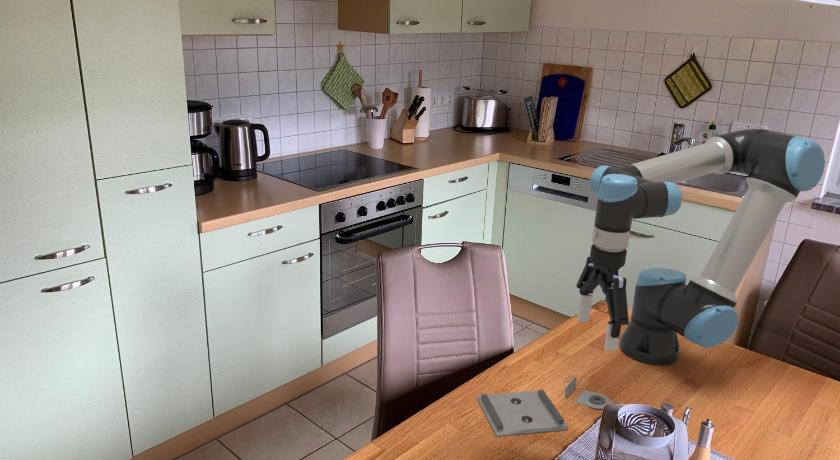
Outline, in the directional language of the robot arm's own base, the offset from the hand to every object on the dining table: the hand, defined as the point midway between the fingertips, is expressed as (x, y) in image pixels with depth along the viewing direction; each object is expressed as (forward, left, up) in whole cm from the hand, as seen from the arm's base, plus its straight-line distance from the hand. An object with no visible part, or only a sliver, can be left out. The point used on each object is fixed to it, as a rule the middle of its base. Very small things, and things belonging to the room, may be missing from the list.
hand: (596, 334), depth 147 cm
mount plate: (+18, +4, -16) cm, 25 cm away
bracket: (0, 0, -17) cm, 17 cm away
